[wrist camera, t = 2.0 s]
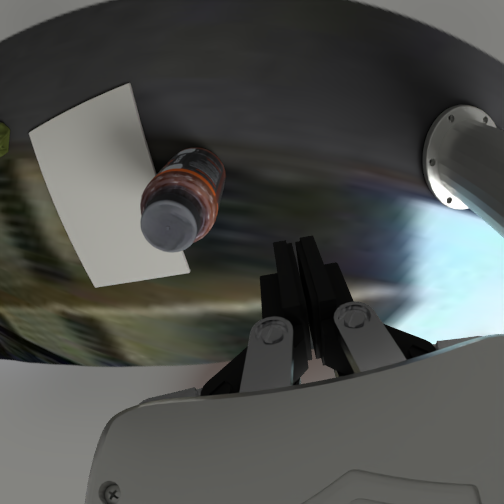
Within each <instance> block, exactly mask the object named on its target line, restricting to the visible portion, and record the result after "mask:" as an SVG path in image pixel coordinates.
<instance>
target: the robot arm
mask: <svg viewBox="0 0 504 504" xmlns="http://www.w3.org/2000/svg"><path fill="white" fill-rule="evenodd" d="M423 172H424V176H425V180H426V183H427V185H428V187H429V189H430V191H431V192H432V194H433V195H434V196H435V197H436V198H437V199H438V200H439V201H440V202H441V203H443V204H444V205H445V206H447V207H450V208H453V209H459V210H462V209H468V208H470V209H471V210H472V211H473V212H475V213H476V214H477V215H478V216H479V217H481V218H482V219H483V220H484V221H485V222H486V223H488V224H489V225H490V226H491V227H492V228H493V229H494V230H496V231H497V232H498V233H499V234H500V235H501V236H502V237H503V238H504V131H503V130H500V129H498V128H497V127H496V125H495V123H494V122H493V120H492V119H491V118H490V117H489V115H487V114H486V113H485V112H484V111H483V110H481V109H479V108H477V107H473V106H470V105H456V106H452V107H450V108H448V109H446V110H445V111H444V112H442V113H441V114H440V115H439V116H438V117H437V119H436V120H435V121H434V122H433V124H432V126H431V128H430V130H429V131H428V134H427V137H426V140H425V144H424V149H423ZM295 243H296V251H297V258H298V265H299V271H298V267H297V263H296V259H295V255H294V251H293V247H292V243H288V244H287V243H286V240H285V241H279V242H274V243H273V246H274V252H275V259H276V266H277V273H275V274H270V275H264V276H260V286H261V302H262V318H263V319H262V320H260V321H259V322H257V323H256V324H255V325H254V326H253V327H252V330H251V332H250V337H249V343H248V347H246V348H245V349H244V350H243V351H242V352H241V353H240V354H239V355H237V356H236V357H235V358H234V359H233V360H232V361H231V362H230V363H228V364H227V365H226V366H225V367H224V368H223V369H222V370H220V371H219V372H218V373H217V374H216V375H215V376H214V377H212V378H211V379H210V380H209V381H208V382H207V383H206V384H205V385H204V386H203V388H201V389H197V390H196V388H190V389H186V390H182V391H178V392H174V393H170V394H165V395H162V396H157V397H152V398H148V399H146V400H143V401H142V402H141V403H140V404H139V405H136V406H133V407H131V408H128V409H125V410H123V411H122V412H120V413H118V414H116V415H115V416H114V417H112V418H111V419H110V420H109V422H108V423H107V424H106V426H105V428H104V430H103V432H102V434H101V436H100V439H99V442H98V444H97V448H96V451H95V454H94V458H93V462H92V466H91V470H90V475H89V480H88V486H87V492H86V499H85V504H504V334H495V335H488V336H475V337H468V338H461V339H452V340H443V341H437V343H436V344H433V345H432V344H431V343H430V342H428V341H426V340H424V339H421V338H419V337H416V336H414V335H411V334H408V333H406V332H403V331H401V330H398V329H395V328H393V327H390V326H388V325H385V324H383V323H382V322H381V320H380V319H379V317H378V316H377V314H376V313H375V311H374V310H373V309H372V308H371V307H370V306H369V305H367V304H365V303H362V302H354V301H353V299H352V296H351V294H350V292H349V289H348V287H347V284H346V282H345V280H344V277H343V275H342V273H341V270H340V268H339V266H338V264H337V263H330V264H325V265H324V264H323V261H322V258H321V256H320V253H319V250H318V248H317V245H316V242H315V240H314V237H313V236H307V237H302V238H300V241H299V242H295ZM299 272H300V275H299ZM308 322H309V323H308ZM309 327H310V332H311V336H312V341H313V346H314V351H315V355H316V359H318V358H321V359H322V363H323V365H326V366H328V367H331V368H332V369H334V373H335V377H336V378H332V379H327V380H322V381H317V382H311V383H306V384H301V379H300V377H301V376H302V375H303V374H304V372H305V371H306V370H307V369H308V360H312V354H311V343H310V333H309Z"/></svg>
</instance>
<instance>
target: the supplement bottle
mask: <svg viewBox="0 0 504 504" xmlns="http://www.w3.org/2000/svg"><path fill="white" fill-rule="evenodd" d="M224 185H225V170H224V166H223V164H222V162H221V161H220V159H219V158H218V157H217V156H216V155H215V154H214V153H212V152H211V151H209V150H207V149H204V148H198V147H197V148H187V149H185V150H182V151H180V152H179V153H177V154H176V155H175V156H174V157H172V159H171V160H170V161H168V163H167V164H166V165H165V166H164V167H163V168H162V169H161V170H160V171H159V172H158V173H157V174H156V176H155V177H154V178H153V179H152V180H151V181H150V182H149V184H148V185H147V186H146V188H145V190H144V192H143V194H142V196H141V203H140V210H141V222H140V223H141V231H142V233H143V235H144V237H145V239H146V240H147V241H148V242H149V243H150V244H151V245H152V246H153V247H155V248H157V249H159V250H162V251H164V252H172V253H173V252H180V251H182V250H185V249H186V248H188V247H189V246H190V245H191V244H192V243H193V242H195V241H197V240H200V239H201V238H203V237H204V236H205V235H206V234H207V233H208V232H209V231H210V229H211V228H212V226H213V224H214V222H215V219H216V216H217V212H218V208H219V205H220V201H221V197H222V193H223V189H224Z"/></svg>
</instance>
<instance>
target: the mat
mask: <svg viewBox="0 0 504 504" xmlns="http://www.w3.org/2000/svg"><path fill="white" fill-rule="evenodd" d="M29 135H30V138H31V141H32V145H33V148H34V151H35V154H36V157H37V160H38V163H39V166H40V168H41V171H42V174H43V177H44V179H45V182H46V185H47V187H48V190H49V192H50V195H51V197H52V200H53V202H54V205H55V207H56V209H57V212H58V214H59V216H60V219H61V221H62V223H63V225H64V227H65V230H66V232H67V234H68V236H69V238H70V240H71V242H72V244H73V246H74V248H75V250H76V252H77V254H78V256H79V258H80V260H81V262H82V264H83V266H84V268H85V270H86V272H87V274H88V276H89V277H90V279H91V281H92V283H93V285H94V286H95V287H102V286H108V285H115V284H121V283H128V282H134V281H141V280H147V279H153V278H160V277H166V276H172V275H179V274H185V273H190V269H189V266H188V263H187V261H186V258H185V255H184V253H183V250H182V251H180V252H173V253H172V252H164V251H162V250H159V249H157V248H155V247H153V246H152V245H151V244H150V243H149V242H148V241H147V240H146V239H145V237H144V235H143V233H142V231H141V223H140V222H141V210H140V203H141V196H142V194H143V192H144V190H145V188H146V186H147V185H148V184H149V182H150V181H151V180H152V179H153V178H154V177H155V176H156V171H155V168H154V164H153V161H152V158H151V155H150V151H149V148H148V145H147V141H146V138H145V135H144V131H143V128H142V124H141V121H140V117H139V114H138V110H137V106H136V103H135V99H134V95H133V91H132V87H131V84H130V83H128V84H126V85H123V86H121V87H118V88H116V89H113V90H111V91H109V92H106V93H104V94H102V95H99V96H97V97H95V98H93V99H91V100H89V101H86V102H84V103H82V104H80V105H78V106H76V107H74V108H72V109H70V110H68V111H66V112H64V113H62V114H61V115H59V116H57V117H55V118H53V119H51V120H50V121H48V122H46V123H44V124H43V125H41V126H39V127H37V128H36V129H34V130H32V131H31V132H29Z"/></svg>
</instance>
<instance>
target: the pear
mask: <svg viewBox="0 0 504 504" xmlns="http://www.w3.org/2000/svg"><path fill="white" fill-rule="evenodd" d="M9 136H10V129H9V128H8V127H7V126H5V124H4V123H0V157H2V156H3V155H4V154H6V153H7V152H8V146H9Z"/></svg>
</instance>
